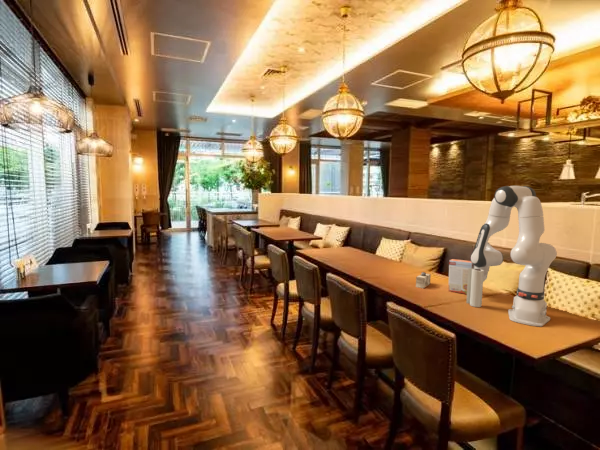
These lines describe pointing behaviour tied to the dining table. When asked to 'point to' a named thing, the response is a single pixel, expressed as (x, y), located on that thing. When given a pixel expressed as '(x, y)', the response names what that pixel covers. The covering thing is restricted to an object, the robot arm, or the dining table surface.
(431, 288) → the dining table surface
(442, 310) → the dining table surface
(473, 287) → the paper towel roll
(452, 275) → the cracker box
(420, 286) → the stop block
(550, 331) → the dining table surface
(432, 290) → the dining table surface
